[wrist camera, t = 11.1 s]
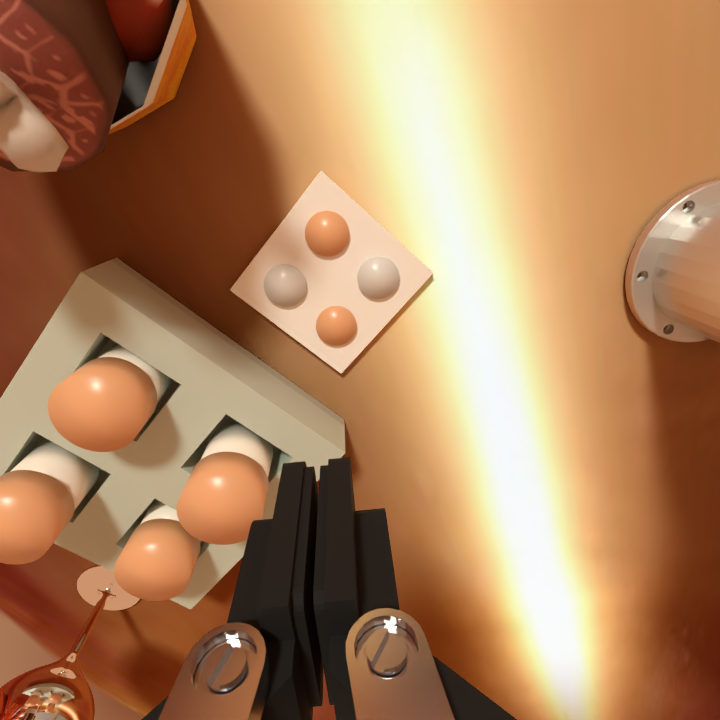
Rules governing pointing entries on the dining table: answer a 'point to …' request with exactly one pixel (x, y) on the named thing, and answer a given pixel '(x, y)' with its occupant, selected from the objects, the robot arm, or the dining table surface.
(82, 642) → the wineglass
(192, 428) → the board
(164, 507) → the button
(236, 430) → the button
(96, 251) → the dining table surface
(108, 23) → the bucket of meat
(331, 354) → the pattern tile
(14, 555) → the button
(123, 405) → the button
